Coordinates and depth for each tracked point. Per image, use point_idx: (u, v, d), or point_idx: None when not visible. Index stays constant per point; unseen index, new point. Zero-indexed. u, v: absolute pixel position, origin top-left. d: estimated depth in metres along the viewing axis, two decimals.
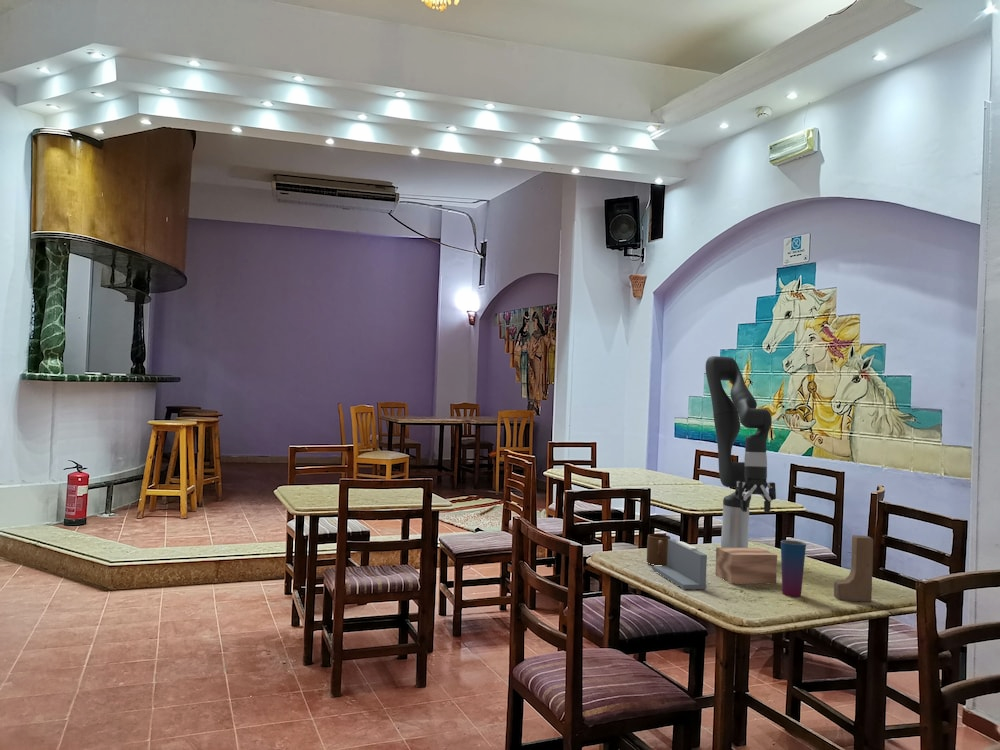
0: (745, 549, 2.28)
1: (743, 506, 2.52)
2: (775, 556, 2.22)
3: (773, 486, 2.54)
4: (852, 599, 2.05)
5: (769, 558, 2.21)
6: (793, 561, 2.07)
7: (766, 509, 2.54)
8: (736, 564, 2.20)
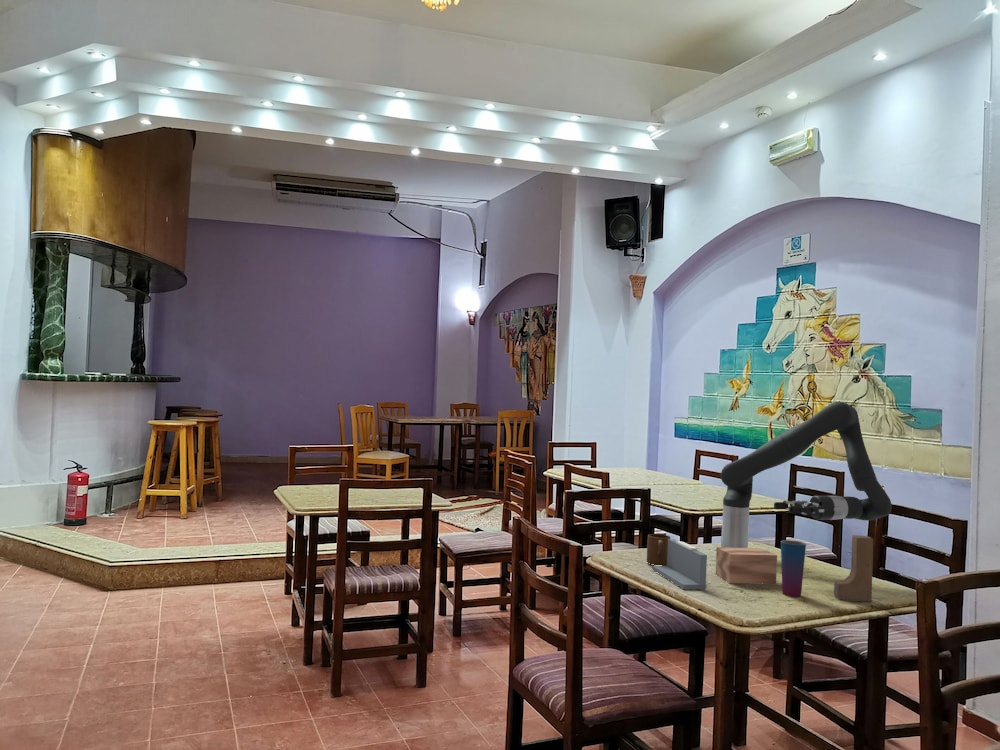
0: (745, 549, 2.28)
1: (796, 512, 2.24)
2: (775, 556, 2.21)
3: None
4: (852, 599, 2.05)
5: (769, 558, 2.21)
6: (793, 561, 2.07)
7: (777, 507, 2.32)
8: (735, 564, 2.20)
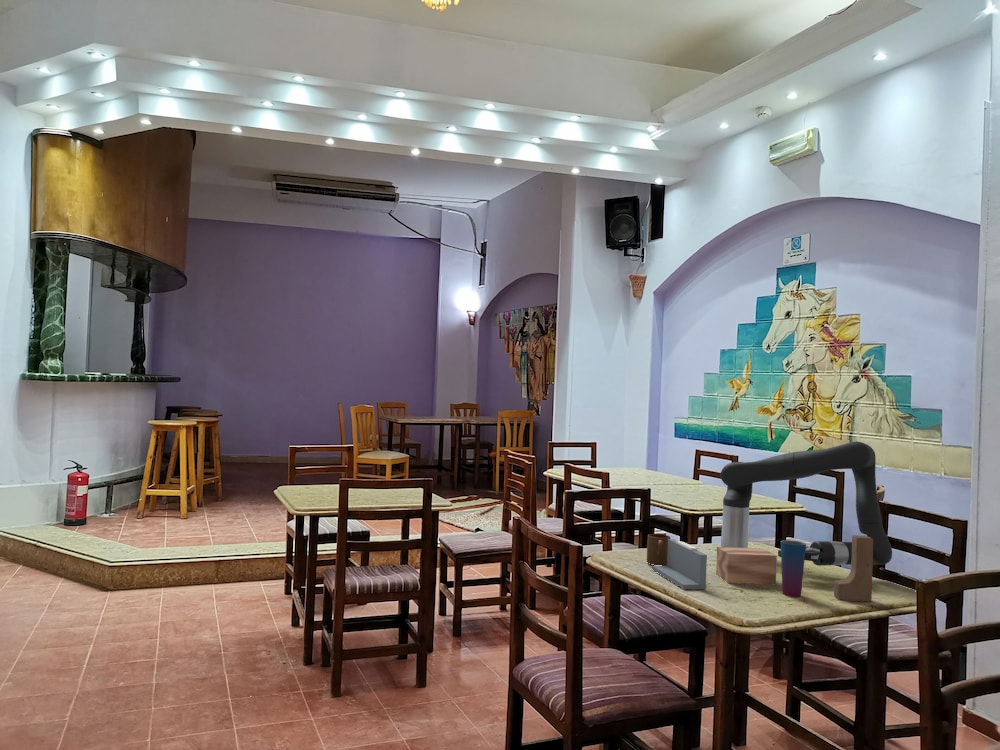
0: (746, 549, 2.28)
1: None
2: (774, 557, 2.21)
3: None
4: (852, 599, 2.05)
5: (768, 558, 2.21)
6: (793, 561, 2.07)
7: None
8: (733, 564, 2.20)
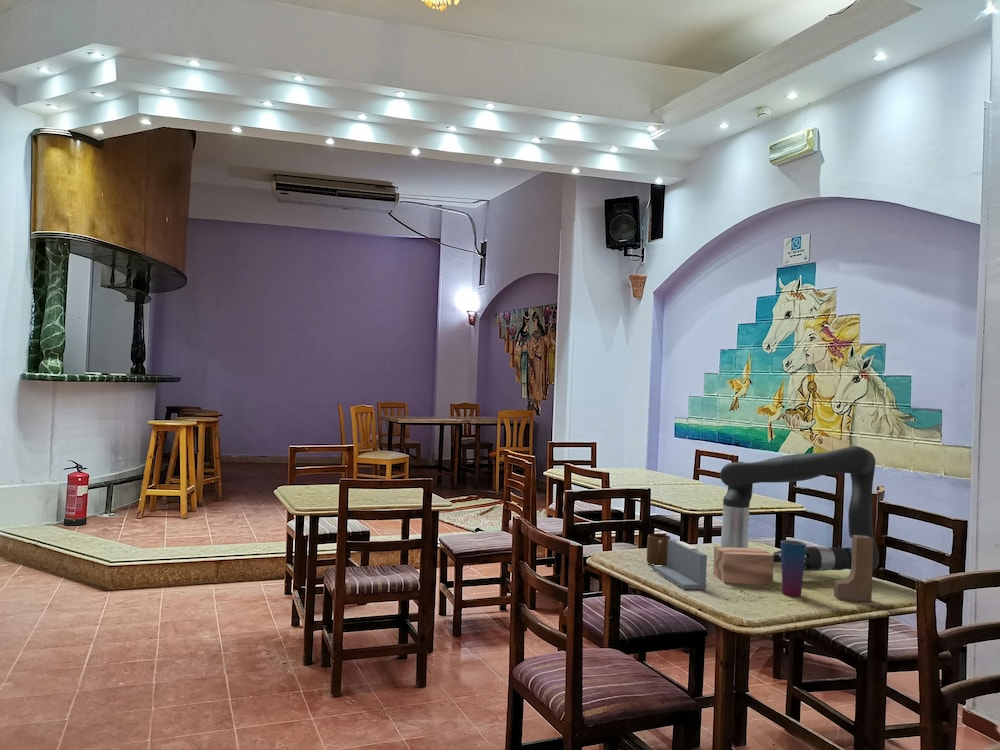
0: (743, 549, 2.28)
1: (773, 561, 2.26)
2: (771, 556, 2.20)
3: None
4: (852, 599, 2.05)
5: (765, 558, 2.20)
6: (793, 561, 2.07)
7: None
8: (730, 563, 2.20)
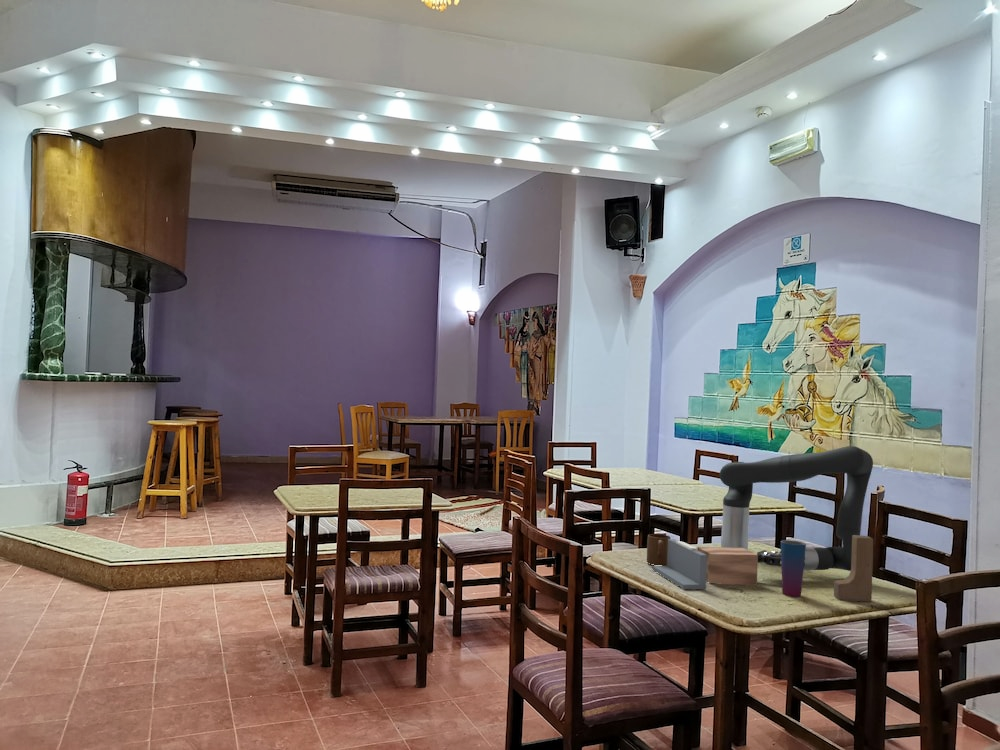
0: (726, 549, 2.26)
1: None
2: (756, 556, 2.20)
3: None
4: (852, 599, 2.05)
5: (750, 558, 2.20)
6: (793, 561, 2.07)
7: None
8: (716, 564, 2.18)
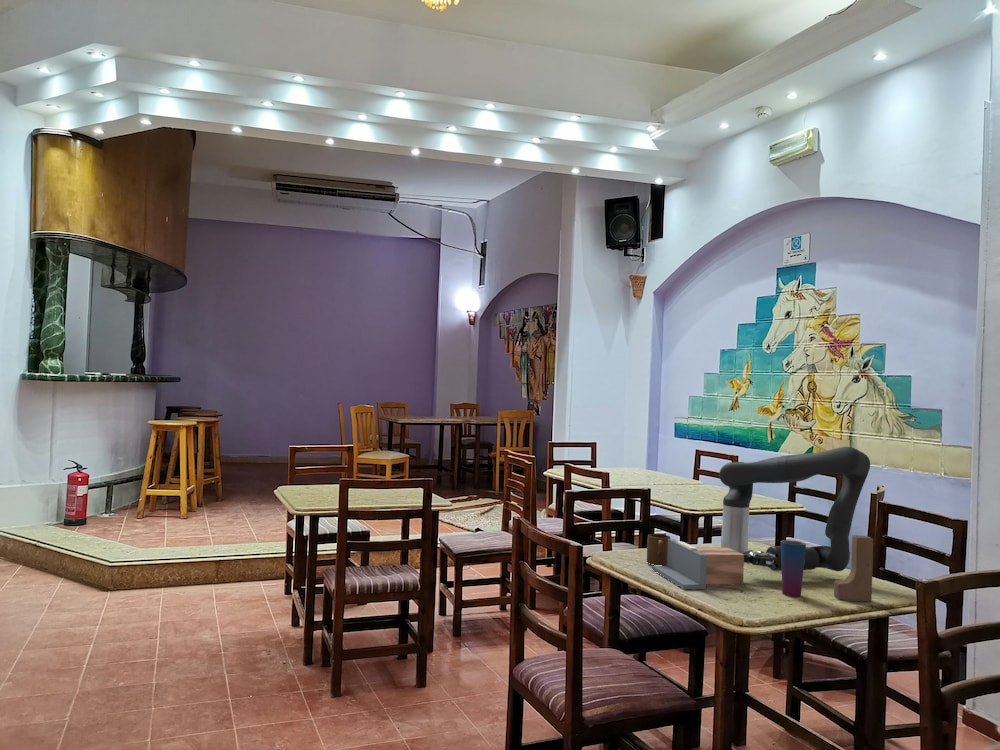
0: (712, 549, 2.25)
1: None
2: (742, 556, 2.19)
3: None
4: (852, 599, 2.05)
5: (736, 558, 2.19)
6: (793, 561, 2.07)
7: None
8: None
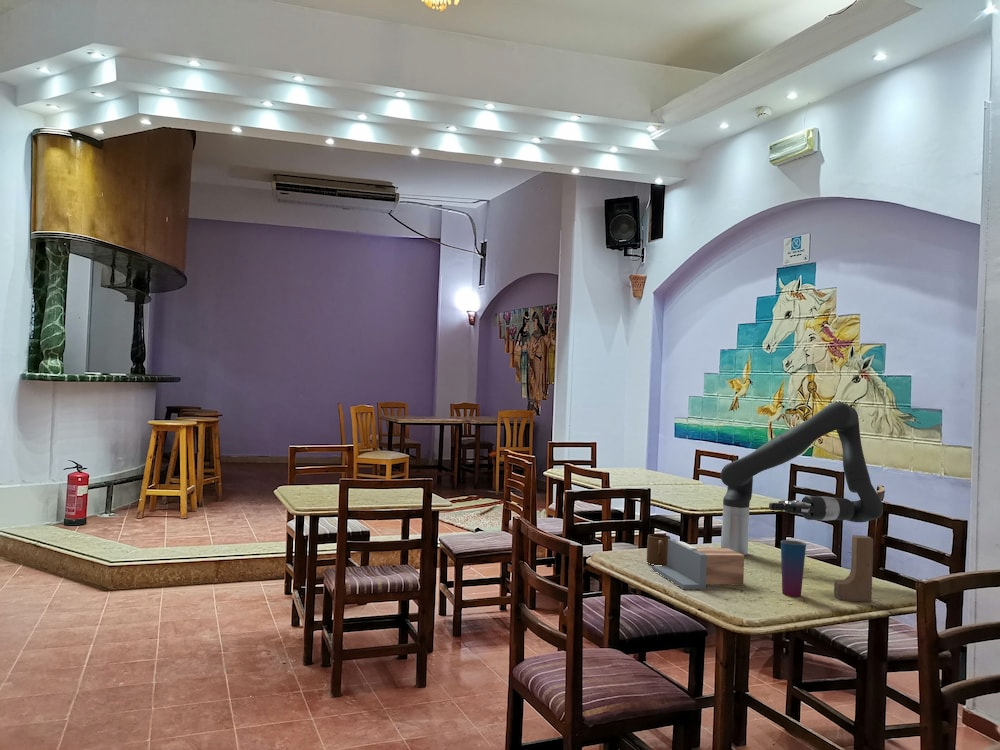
0: (712, 549, 2.25)
1: None
2: (742, 556, 2.19)
3: None
4: (852, 599, 2.05)
5: (736, 558, 2.19)
6: (793, 561, 2.07)
7: None
8: None
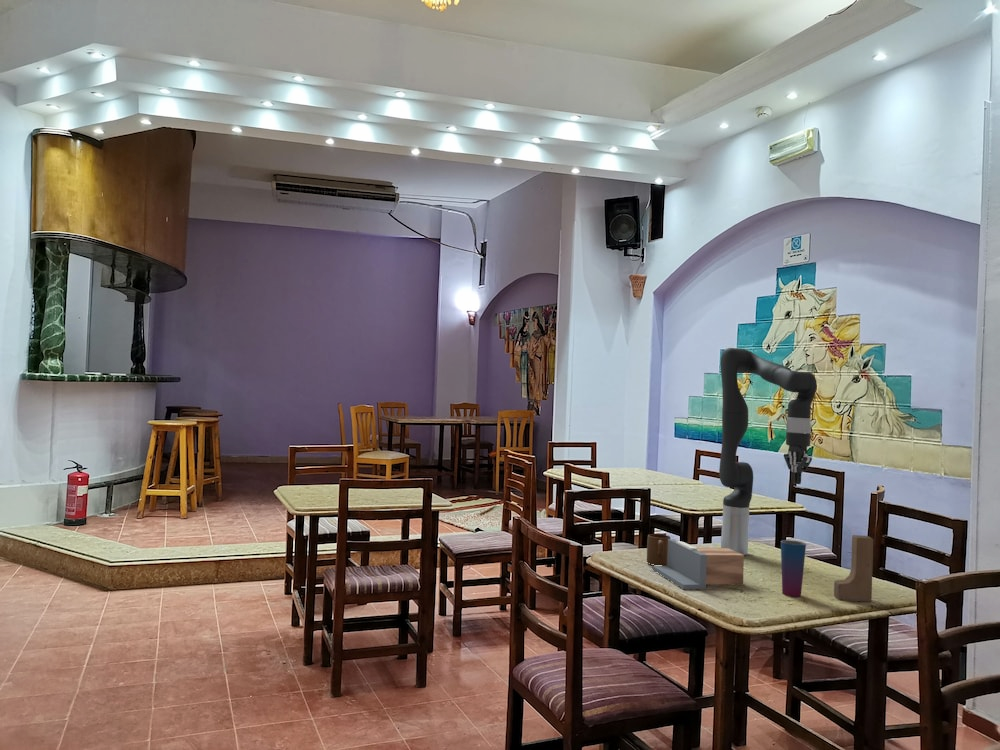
0: (712, 549, 2.25)
1: None
2: (742, 556, 2.19)
3: None
4: (852, 599, 2.05)
5: (736, 558, 2.19)
6: (793, 561, 2.07)
7: None
8: None
